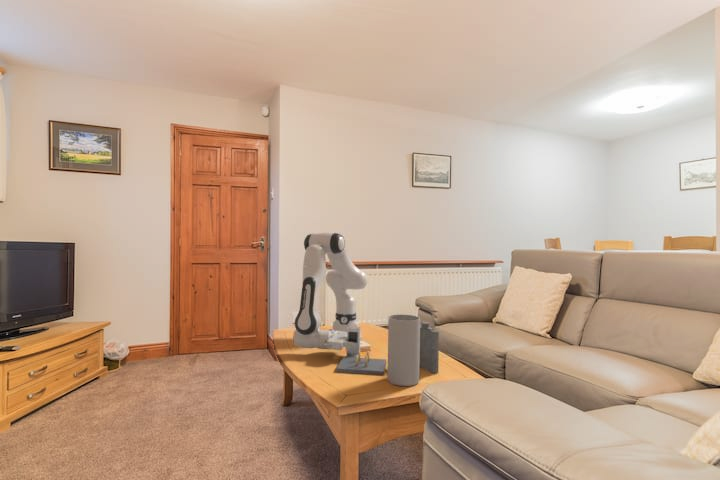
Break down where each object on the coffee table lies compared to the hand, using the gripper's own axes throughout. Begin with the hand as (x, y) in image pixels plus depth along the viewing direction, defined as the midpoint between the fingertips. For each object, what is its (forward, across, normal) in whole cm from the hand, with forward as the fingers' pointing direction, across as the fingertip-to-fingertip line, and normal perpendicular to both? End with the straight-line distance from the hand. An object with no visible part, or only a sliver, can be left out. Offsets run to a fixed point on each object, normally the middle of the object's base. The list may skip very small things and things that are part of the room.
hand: (355, 341), depth 172 cm
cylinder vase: (+23, -26, +8) cm, 36 cm away
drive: (-1, 0, +8) cm, 8 cm away
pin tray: (+5, -13, +8) cm, 16 cm away
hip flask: (+32, -9, +8) cm, 34 cm away
